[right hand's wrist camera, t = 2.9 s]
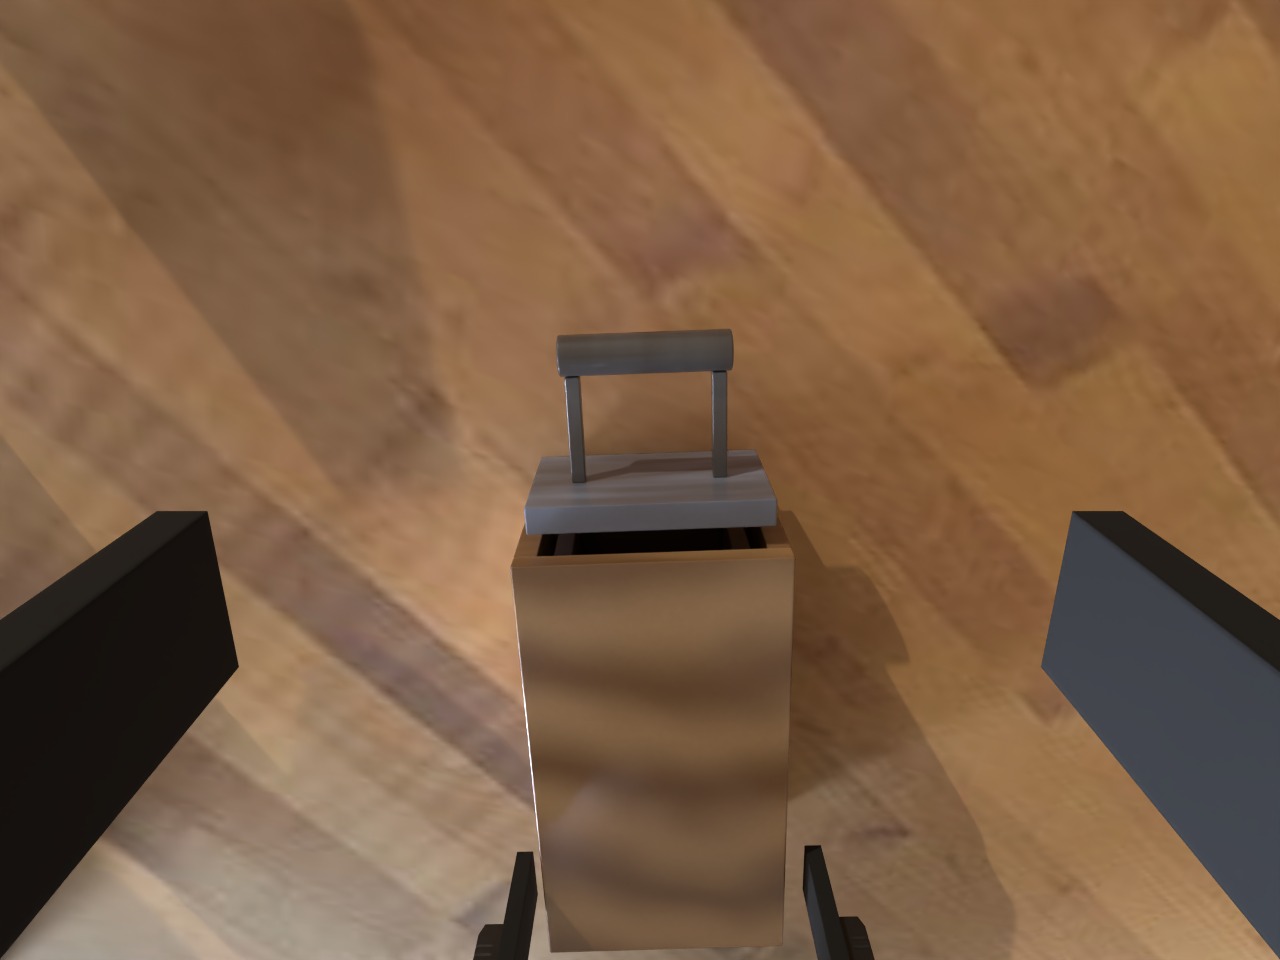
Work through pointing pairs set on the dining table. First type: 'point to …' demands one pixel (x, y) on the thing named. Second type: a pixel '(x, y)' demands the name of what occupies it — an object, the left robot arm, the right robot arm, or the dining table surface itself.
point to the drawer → (648, 461)
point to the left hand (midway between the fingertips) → (669, 869)
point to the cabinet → (659, 740)
